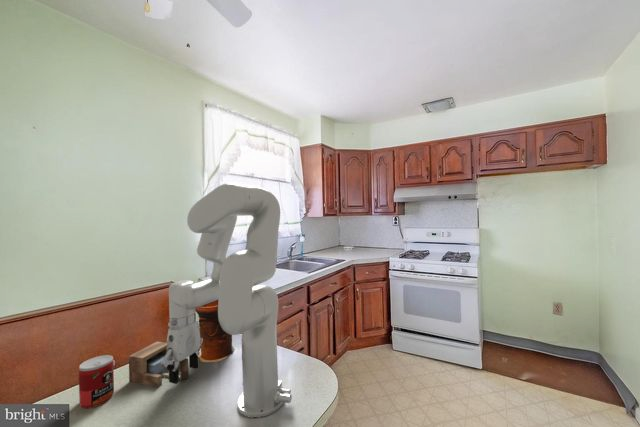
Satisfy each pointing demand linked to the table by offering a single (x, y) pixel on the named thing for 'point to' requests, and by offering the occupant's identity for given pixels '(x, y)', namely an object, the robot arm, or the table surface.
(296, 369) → the table surface
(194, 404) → the table surface
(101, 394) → the canned food
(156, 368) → the knob-handled block
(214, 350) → the vessel
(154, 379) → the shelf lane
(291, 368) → the table surface
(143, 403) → the table surface
